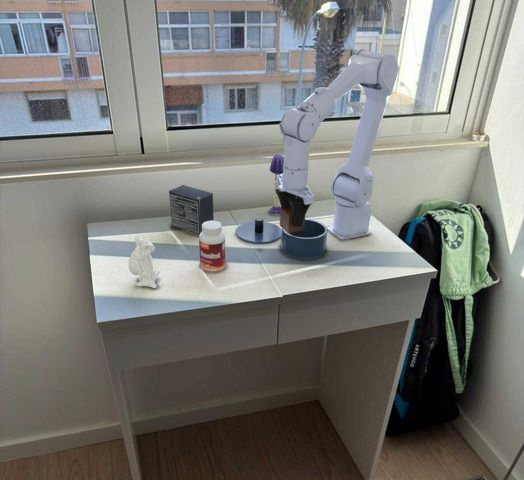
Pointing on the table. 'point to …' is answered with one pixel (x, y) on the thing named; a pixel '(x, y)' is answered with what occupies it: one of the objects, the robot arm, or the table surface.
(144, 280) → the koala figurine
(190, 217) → the small box
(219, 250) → the pill bottle
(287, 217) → the block
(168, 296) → the table surface
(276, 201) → the toy lamp
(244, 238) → the lid
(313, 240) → the bowl
